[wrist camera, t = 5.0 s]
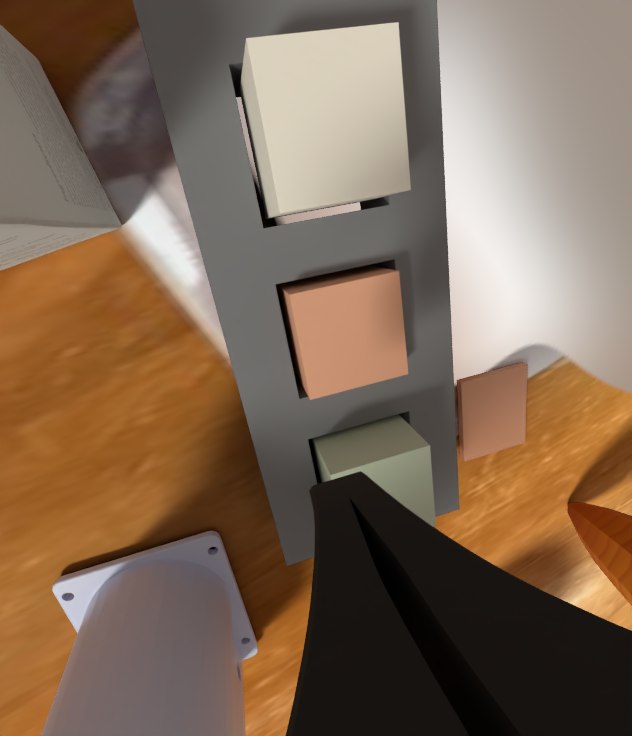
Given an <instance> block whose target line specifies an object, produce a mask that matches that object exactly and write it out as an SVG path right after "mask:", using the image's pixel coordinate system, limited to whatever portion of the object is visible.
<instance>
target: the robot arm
mask: <svg viewBox="0 0 632 736" xmlns="http://www.w3.org/2000/svg"><path fill="white" fill-rule="evenodd" d="M309 493H310V497H311V502H312V506H313V511H314V523H315V552H314V570H313V582H312V593H311V603H310V611H309V619H308V626H307V632H306V638H305V645H304V651H303V656H302V662H301V667H300V672H299V677H298V682H297V687H296V692H295V697H294V702H293V706H292V711H291V716H290V720H289V724H288V729H287V733H286V736H632V631H631V630H628V629H626V628H623V627H621V626H618V625H616V624H614V623H611V622H609V621H607V620H605V619H602V618H600V617H598V616H596V615H594V614H591V613H589V612H587V611H585V610H583V609H581V608H578V607H576V606H574V605H572V604H570V603H568V602H565V601H563V600H561V599H559V598H557V597H554V596H552V595H550V594H548V593H546V592H544V591H542V590H540V589H538V588H536V587H534V586H532V585H530V584H528V583H526V582H524V581H522V580H520V579H518V578H517V577H515V576H513V575H511V574H509V573H507V572H506V571H504V570H502V569H500V568H498V567H497V566H495V565H493V564H491V563H489V562H488V561H486V560H484V559H483V558H481V557H479V556H478V555H476V554H474V553H473V552H471V551H469V550H468V549H466V548H465V547H463V546H461V545H460V544H458V543H457V542H455V541H454V540H452V539H451V538H449V537H447V536H446V535H444V534H443V533H441V532H440V531H439V530H437V529H436V528H434V527H433V526H431V525H430V524H428V523H427V522H426V521H424V520H423V519H421V518H420V517H419V516H417V515H416V514H415V513H413V512H412V511H410V510H409V509H408V508H406V507H405V506H404V505H402V504H401V503H400V502H399V501H397V500H396V499H395V498H393V497H392V496H391V495H390V494H388V493H387V492H386V491H385V490H384V489H382V488H381V487H380V486H379V485H377V484H376V483H375V482H374V481H373V480H372V479H370V478H369V477H368V476H367V475H366V474H364V473H363V472H361V471H359V472H356V473H353V474H350V475H346V476H343V477H340V478H336V479H333V480H330V481H326V482H323V483H320V484H316V485H313V486H312V487H311V489H310V490H309ZM211 547H217V548H215V549H209V548H211ZM52 590H53V593H54V595H55V596H56V598H57V600H58V601H59V603H60V605H61V606H62V608H63V610H64V611H65V613H66V615H67V616H68V618H69V620H70V621H71V623H72V625H73V626H74V628H75V630H76V631H77V633H78V634H77V637H76V640H75V642H74V645H73V648H72V651H71V653H70V656H69V659H68V662H67V665H66V667H65V670H64V673H63V676H62V678H61V681H60V684H59V687H58V690H57V692H56V695H55V698H54V701H53V703H52V706H51V709H50V712H49V715H48V717H47V720H46V723H45V726H44V728H43V731H42V734H41V736H246V735H245V714H244V694H243V674H242V660H245V659H247V658H250V657H252V656H254V655H255V654H256V653H257V651H258V645H257V641H256V638H255V635H254V632H253V629H252V626H251V623H250V620H249V618H248V615H247V612H246V609H245V606H244V603H243V600H242V597H241V594H240V592H239V589H238V586H237V583H236V580H235V577H234V574H233V571H232V568H231V566H230V563H229V560H228V557H227V554H226V551H225V548H224V545H223V542H222V540H221V537H220V535H219V533H218V532H216V531H207V532H204V533H200V534H197V535H194V536H191V537H187V538H184V539H181V540H178V541H174V542H171V543H168V544H165V545H161V546H158V547H155V548H152V549H148V550H145V551H142V552H139V553H135V554H132V555H129V556H126V557H122V558H119V559H116V560H113V561H109V562H106V563H103V564H100V565H96V566H93V567H90V568H87V569H83V570H80V571H77V572H74V573H70V574H67V575H64V576H61V577H59V578H58V579H57V580H56V581H55V583H54V585H53V588H52ZM68 593H72V594H68Z"/></svg>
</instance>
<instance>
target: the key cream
mask: <svg viewBox="0 0 632 736" xmlns="http://www.w3.org/2000/svg"><path fill="white" fill-rule="evenodd" d="M240 94H241V99H242V104H243V109H244V114H245V119H246V123H247V128H248V133H249V138H250V142H251V148H252V152H253V157H254V162H255V167H256V172H257V177H258V182H259V186H260V191H261V196H262V201H263V206H264V211H265V215H266V219H269V218H274V217H280V216H285V215H291V214H296V213H301V212H307V211H313V210H318V209H324V208H329V207H334V206H340V205H345V204H350V203H356V202H362V201H367V200H372V199H376V198H380V197H384V196H388V195H392V194H396V193H400V192H404V191H408V190H411V184H410V171H409V157H408V144H407V131H406V117H405V104H404V90H403V77H402V63H401V50H400V37H399V23H398V22H396V23H386V24H377V25H367V26H358V27H348V28H339V29H329V30H320V31H310V32H301V33H291V34H282V35H272V36H263V37H253V38H246V43H245V51H244V59H243V66H242V74H241V82H240Z"/></svg>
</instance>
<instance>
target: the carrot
mask: <svg viewBox="0 0 632 736" xmlns="http://www.w3.org/2000/svg"><path fill="white" fill-rule="evenodd" d="M568 514H569V517H570V519H571V521H572V523H573V525H574V527H575V529H576V531H577V533H578V535H579V537H580V539H581V541H582V542H583V544H584V546H585V547H586V549H587V550H588V552H589V554H590V555H591V557H592V558H593V560H594V561H595V563H596V564H597V565H598V566H599V568H600V569H601V570H602V571H603V572H604V574H605V575H606V576H607V577H608V579H609V580H610V581H611V582H612V584H613V585H614V586H615V587H616V588H617V589H618V591H619V592H620V593H621V594H622V595H623V596H624V597H625V599H626V600H627V601H628V602H629V603H630V604H631V605H632V516H630V515H627V514H624V513H621V512H618V511H615V510H612V509H608V508H604V507H600V506H595V505H590V504H586V503H581V502H574V503H569V504H568Z"/></svg>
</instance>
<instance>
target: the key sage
mask: <svg viewBox="0 0 632 736" xmlns="http://www.w3.org/2000/svg"><path fill="white" fill-rule="evenodd" d="M312 443H313V448H314V453H315V458H316V463H317V468H318V472H319V477H320V482H321V483H323V482H326V481H330V480H333V479H336V478H340V477H343V476H346V475H350V474H353V473H356V472H359V471H361V472H363V473H364V474H366V475H367V476H368V477H369V478H370V479H372V480H373V481H374V482H375V483H376V484H377V485H379V486H380V487H381V488H382V489H384V490H385V491H386V492H387V493H388V494H390V495H391V496H392V497H393V498H395V499H396V500H397V501H399V502H400V503H401V504H402V505H404V506H405V507H406V508H408V509H409V510H410V511H412V512H413V513H415V514H416V515H417V516H419V517H420V518H421V519H423V520H424V521H426V522H427V523H428V524H430V525H431V526H436V520H435V506H434V493H433V479H432V466H431V453H430V445H429V444H428V443H427V442H426V441H425V440H424V439H423V438H422V437H421V436H420V435H419V434H418V433H417V432H416V431H415V430H414V429H413V428H412V427H411V426H410V425H409V424H408V423H407V422H406V421H405V420H404V419H403V418H402V417H401V416H400V415H399V414H397V415H393V416H390V417H386V418H383V419H379V420H375V421H372V422H368V423H365V424H361V425H358V426H354V427H351V428H347V429H343V430H340V431H336V432H333V433H329V434H326V435H322V436H319V437H315V438H312Z"/></svg>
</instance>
